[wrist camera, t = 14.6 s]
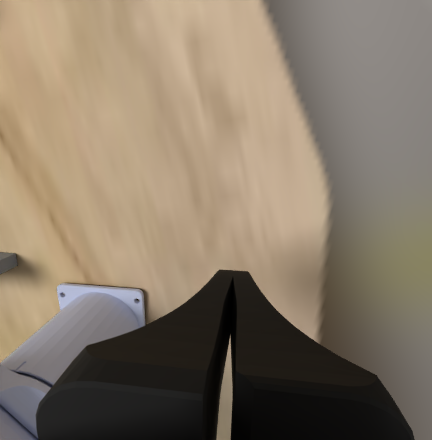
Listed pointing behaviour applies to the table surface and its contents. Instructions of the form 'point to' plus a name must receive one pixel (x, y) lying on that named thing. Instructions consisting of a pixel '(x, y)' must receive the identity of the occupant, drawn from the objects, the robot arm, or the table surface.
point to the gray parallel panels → (7, 261)
